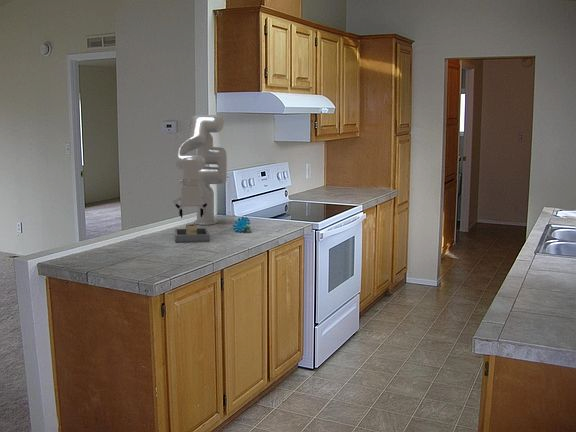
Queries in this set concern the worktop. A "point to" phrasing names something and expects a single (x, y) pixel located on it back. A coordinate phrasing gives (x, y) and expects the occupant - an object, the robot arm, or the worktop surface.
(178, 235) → the tray
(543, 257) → the worktop surface
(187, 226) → the maple block
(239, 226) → the gear
